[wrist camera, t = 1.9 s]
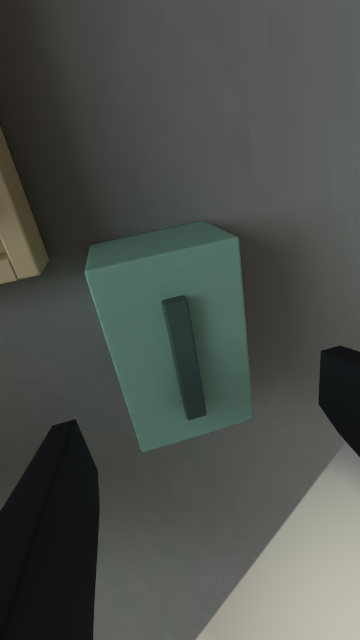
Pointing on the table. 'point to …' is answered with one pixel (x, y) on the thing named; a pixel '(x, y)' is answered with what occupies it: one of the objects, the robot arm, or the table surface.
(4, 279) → the frame tray
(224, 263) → the green pad
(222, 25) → the table surface
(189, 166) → the table surface
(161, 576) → the table surface
